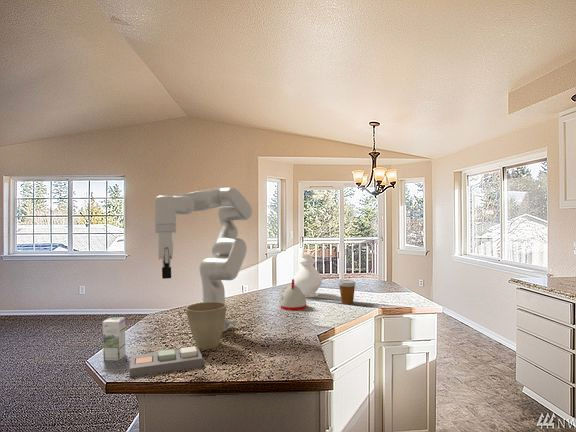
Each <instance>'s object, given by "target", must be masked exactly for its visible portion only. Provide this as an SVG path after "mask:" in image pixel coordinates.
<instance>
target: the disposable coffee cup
mask: <svg viewBox="0 0 576 432" xmlns="http://www.w3.org/2000/svg"><path fill="white" fill-rule="evenodd" d="M338 286H339V293H340V298H341V304H343V305H352V304H354V297H355V287H356V282H355V280H352V279H351V280H348V279H345V280H339V281H338Z"/></svg>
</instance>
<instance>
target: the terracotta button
mask: <svg viewBox="0 0 576 432" xmlns="http://www.w3.org/2000/svg"><path fill="white" fill-rule="evenodd" d="M148 362H152V356H151V357H143V358H136V363H135V364H141V363H148Z"/></svg>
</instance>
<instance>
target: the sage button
mask: <svg viewBox="0 0 576 432" xmlns="http://www.w3.org/2000/svg"><path fill="white" fill-rule="evenodd" d="M174 350H175V348H173V349H171V348H170V349H163V350H158V352H159V361H163V360H170V359H175V352H174Z"/></svg>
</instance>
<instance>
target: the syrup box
mask: <svg viewBox="0 0 576 432" xmlns="http://www.w3.org/2000/svg"><path fill="white" fill-rule="evenodd" d="M102 348H103V349H102V350H103V351H102V352H103V361H104V360H113V361H121V360H122V359H123V358H124V357H125V356H126V355H127V350H126V317H108V318H106V319H104V320H103V321H102ZM120 359H121V360H120Z"/></svg>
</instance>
